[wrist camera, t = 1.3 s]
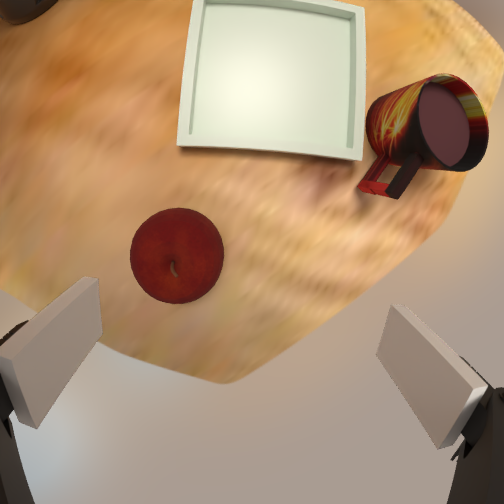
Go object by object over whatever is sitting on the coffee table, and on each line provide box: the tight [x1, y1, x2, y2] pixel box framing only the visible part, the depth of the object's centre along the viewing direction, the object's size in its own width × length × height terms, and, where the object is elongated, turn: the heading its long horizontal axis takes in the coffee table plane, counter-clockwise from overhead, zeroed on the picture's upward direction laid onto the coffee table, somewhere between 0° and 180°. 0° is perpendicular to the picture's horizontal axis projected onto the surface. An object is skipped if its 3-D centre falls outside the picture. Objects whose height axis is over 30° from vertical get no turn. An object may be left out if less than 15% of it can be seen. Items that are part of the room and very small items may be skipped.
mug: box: [357, 73, 489, 199], centre depth 29 cm, size 10×14×12 cm
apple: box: [130, 208, 224, 304], centre depth 32 cm, size 10×10×10 cm
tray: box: [177, 0, 366, 161], centre depth 30 cm, size 20×20×3 cm
